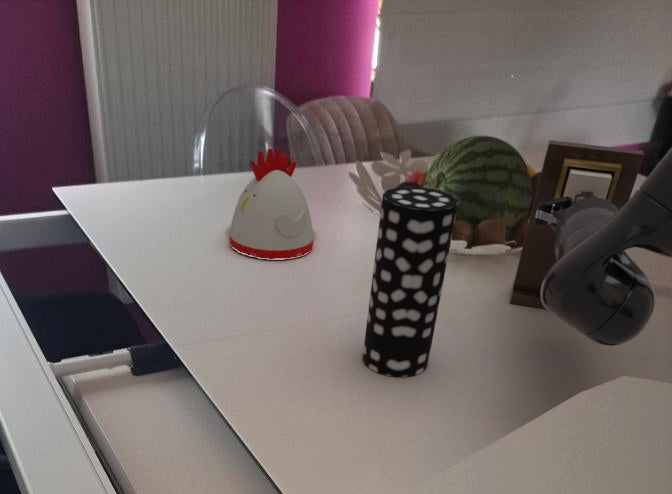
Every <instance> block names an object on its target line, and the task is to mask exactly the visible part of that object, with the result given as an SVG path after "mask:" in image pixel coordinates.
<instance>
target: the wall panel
mask: <svg viewBox="0 0 672 494" xmlns="http://www.w3.org/2000/svg"><path fill="white" fill-rule="evenodd" d="M644 157H645V153H644V151H643V150H639V149H632V148H631V149H630V148H621V147H613V146H605V145H595V144H589V143H588V144H587V143H577V142H570V141H560V140H553V139H549V140H548V144H547V148H546V151H545V156H544V158H543V159H544V160H543V164H542V168H541V171H540V174H539V175H540V176H539V179H538V184H537V188H536V191H535V196H534V199H533V204H532V207H531V211H530V215H529V219H528V223H527V228H526V231H525V236H524V239H523V243H522V246H521V252H520V255H519V259H518V263H517V267H516V270H515V271H516V272H515V275H514V279H513V281H512V284H511V288H510V289H511V290H510V298H509V303H510V304H511V305H518V306H523V307H531V308H537V309H543V310H547V309H546V308H545V307H544V306H543V304H542V302H541V286H542V282H543V280H544V277H545V275H546V274H547V272H548V271H549V269H550V268H551V267H552V265H553V264H554V263H555V262H556V261H557V260H556V254H555V252H554V244H555V231H554V230H553V229H552V228H551V224H550V225H548V224H544V225H536V224H534V220H535V215H536V211H537V208H538V204H539V202H543V201H548V200H552V199H557V198H561V197H563V193H564V190H565V186H566V182H567V179H568V175H569V171H570V169H571V168H572V169H580V170H588V171H597V172H605V173H611V176H612V180H611V183H610V186H609V189H608V193H607V196H606V199H605V200H607V201H609V202H613V203H614V204H617V205H619V206H621V207H623V206H624V205H625V204H626V203H627V201H628V200H629V199H630V198H631V197H632V192H633V190H634V187H635V184H636V181H637V178H638V174H639V171H640V168H641V165H642V163H643V160H644Z"/></svg>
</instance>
